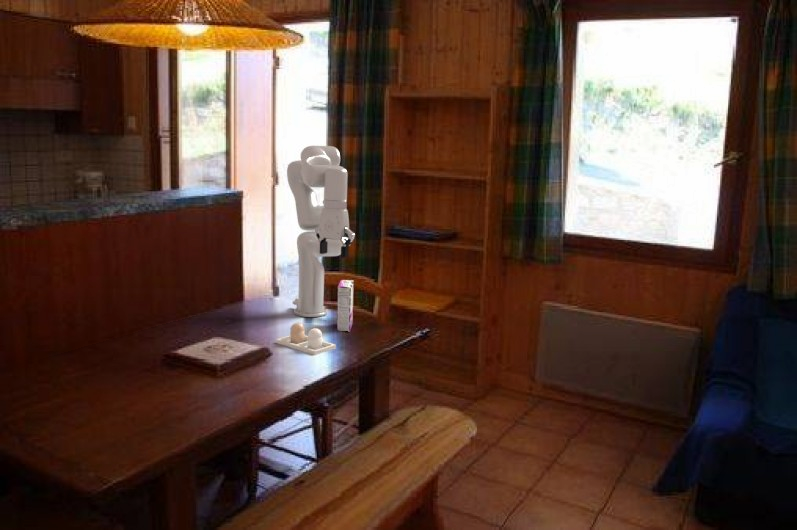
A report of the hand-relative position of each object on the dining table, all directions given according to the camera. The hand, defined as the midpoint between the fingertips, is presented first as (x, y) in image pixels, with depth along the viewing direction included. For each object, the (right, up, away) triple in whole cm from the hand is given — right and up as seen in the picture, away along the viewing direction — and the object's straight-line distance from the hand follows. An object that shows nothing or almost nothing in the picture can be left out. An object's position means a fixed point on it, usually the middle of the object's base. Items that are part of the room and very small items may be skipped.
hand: (333, 255), depth 242 cm
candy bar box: (+2, -26, +17) cm, 31 cm away
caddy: (-8, -30, -8) cm, 32 cm away
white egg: (-5, -30, -11) cm, 33 cm away
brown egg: (-11, -29, -6) cm, 32 cm away
